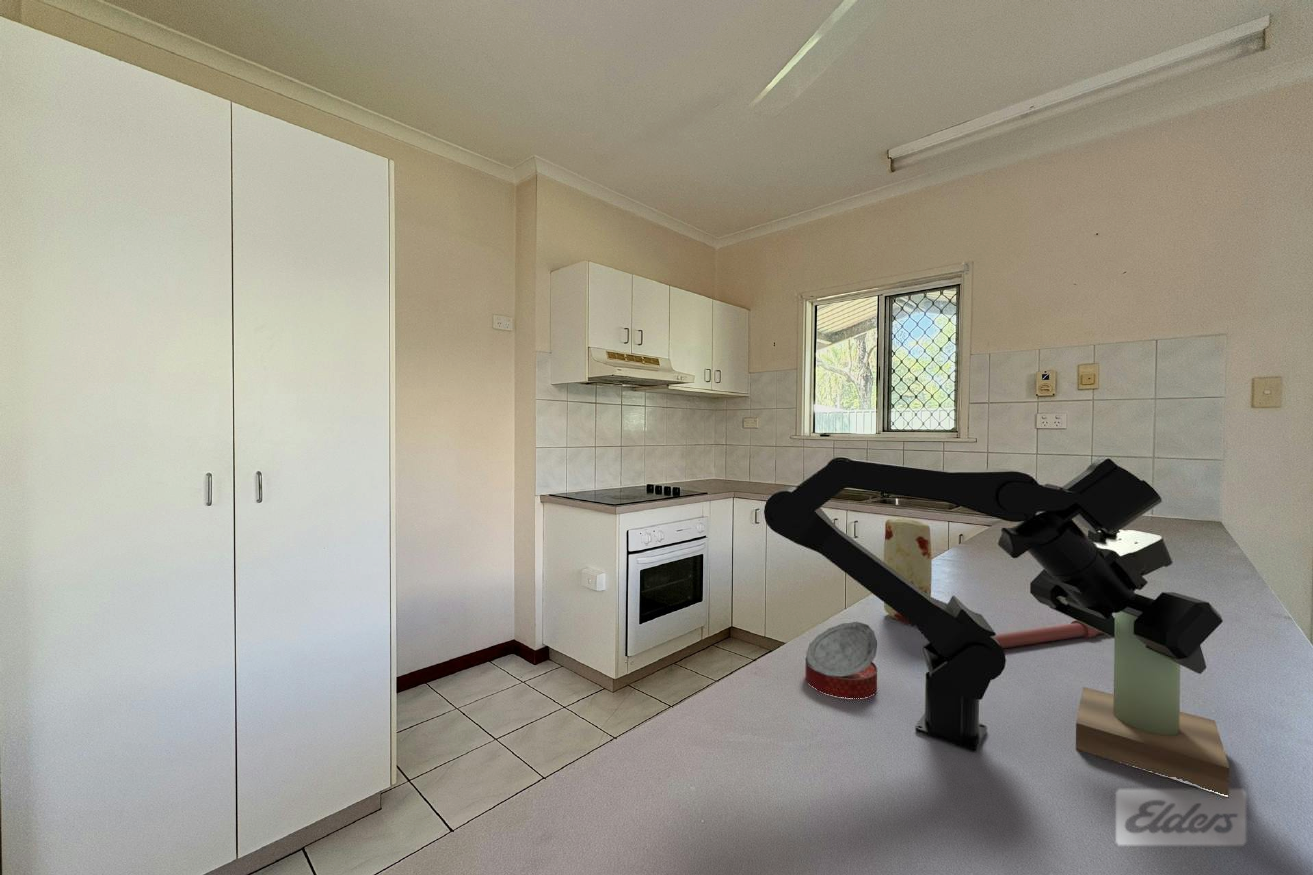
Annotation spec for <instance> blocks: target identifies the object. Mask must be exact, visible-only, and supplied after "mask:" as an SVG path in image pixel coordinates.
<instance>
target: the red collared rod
mask: <svg viewBox="0 0 1313 875" xmlns="http://www.w3.org/2000/svg"><path fill="white" fill-rule="evenodd" d="M1099 634H1104V633H1103V632H1101V631H1099V630H1096V629H1094V628H1092V627H1090V626H1088V625H1086V624H1084V623H1081V622H1079V621H1077V620H1073V621H1072V622H1071V623H1068V624H1061V625H1055V626H1047V627H1040V628H1039V627H1038V628H1033V629H1027V630H1026V629H1025V630H1018V631H1012V632H1011V631H1010V632H1005V633H996V635H995V636H994V637H995V639H996V640H997V641H998V643H999V644H1000V645H1001V647H1002V648H1003V649H1006V648H1007V649H1008V648H1013V647H1020V646H1028V645H1033V644H1041V643H1046V642H1053V641H1058V640H1059V641H1060V640H1066V639H1075V638H1083V639H1090V638H1095V637H1096V636H1097V635H1099Z"/></svg>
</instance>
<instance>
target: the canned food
mask: <svg viewBox="0 0 1313 875" xmlns="http://www.w3.org/2000/svg"><path fill="white" fill-rule="evenodd" d="M877 648H878V640H877V638H876V633H875V631H874V630H873V629H872V628H871V626H870V625H869V624H866V623H863V622H859V621H853V622H846V623H845V622H843V623H840V624H838V625H836V626H835V625H834V626H832V627H828V628H827V629H825V631H823V632H822V633H820V634H817V635H816V637H814V639H813V640H812V641H811V642H810V643H809V645H808V648H807V650H806V652H805V659H804V660H805V666H804V667H805V669H804V670H805V674H804V675H805V676H804V677H806V679H805V681H806V680H807V682H808V683H809V684H810V685H811V686H813V687H814V688H816V689H817V690H818V691H821V692H823V693H826V694H829V695H833V696H837V697H844V698H845V697H846V698H853V699H854V698H855V699H856V698H857V699H858V698H859V699H860V698H865V697H869V696H871V695H873V694H875V693H876V694H877V692H876V691H878V668H877V665H876V664H875V663H874V662H873V661H874V659H875V657H876V656H877V650H878V649H877ZM807 682H806V683H807ZM818 691H817V692H818ZM876 694H875V695H876ZM873 696H874V695H873Z"/></svg>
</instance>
